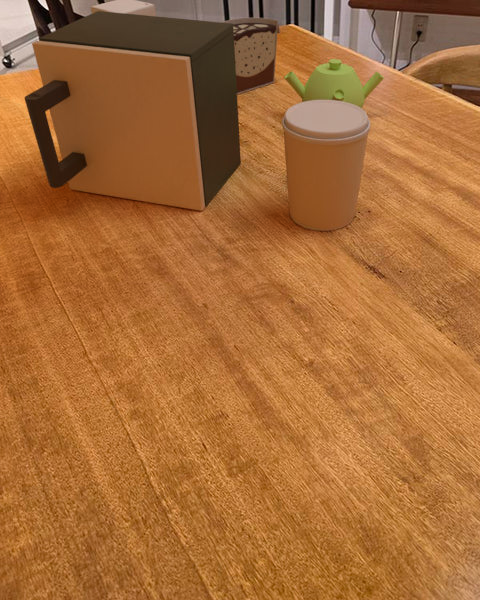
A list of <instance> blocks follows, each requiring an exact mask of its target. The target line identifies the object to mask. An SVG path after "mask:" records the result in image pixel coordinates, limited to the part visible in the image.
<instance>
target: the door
mask: <svg viewBox="0 0 480 600" xmlns="http://www.w3.org/2000/svg"><path fill="white" fill-rule="evenodd" d="M31 45H32V46H31V47H32V49H33V54H34V56H35V57H34V58H35V60H36V64H37V68H38V73H39V76H40V80H41V83H42V86H40V87H39V88H38V89H36V90H34V91H32V92H30V93H29V94H27V95H26V96H24V103H25V105H26V108H27V112H28V116H29V119H30V123H31V126H32V129H33V134H34V137H35V141H36V144H37V147H38V150H39V154H40V157H41V160H42V164H43V168H44V172H45V175H46V179H47V183H48V186H49V187H50V188H51V189H58V188H61V187H63V186H65V185H66V184H67V183H68V187H69V189H70V190H72V191H73V190H74V191H79V192H85V193H91V194H98V195H102V196H109V197H113V198H114V197H115V198H121V199H127V200H133V201H139V202H145V203H151V204H157V205H164V206H170V207H176V208H182V209H189V210H193V211H194V210H195V211H200V212H202V211H203V210H204V209H205V208H206V207H205V201H204V191H203V181H202V172H201V162H200V152H199V142H198V132H197V122H196V113H195V103H194V93H193V83H192V73H191V64H190V57H185V56H176V55H167V54H157V53H148V52H139V51H129V50H120V49H111V48H102V47H92V46H83V45H74V44H65V43H55V42H46V41H39V40H36V41H33V42H32V43H31ZM47 111H49V115H50V118H51V121H52V125H53V129H54V133H55V136H56V141H57V144H58V148H59V152H60V156H61V160H60V161H59V158H58V154H57V151H56V146H55V143H54V139H53V136H52V131H51V128H50V125H49V120H48V118H47V113H46V112H47Z"/></svg>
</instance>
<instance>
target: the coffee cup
mask: <svg viewBox="0 0 480 600" xmlns="http://www.w3.org/2000/svg"><path fill="white" fill-rule="evenodd" d="M281 126H282V127H281V128H282V130H283V140H284V157H285V172H286V185H287V197H288V209H289V215H290V218H291V219H292V221H293V222H294V223H295V224H296V225H298V226H300V227H302V228H305V229H308V230H311V231H316V232H317V231H319V232H330V231H337V230H340V229H342V228H345V227H347V226H349V225H350V224H351V223H352V221H353V220H354V219H355V216H356V210H357V206H358V199H359V193H360V187H361V181H362V174H363V168H364V164H365V163H364V162H365V156H366V150H367V144H368V135H369V133H370V130H371V120H370V119H369V114H368V113H367V112H366V111H365V110H364V109H363V107H362V108H360V107H358V106H356V105H354V104H351V103H347V102H343V101H336V100H311V101H305V102H302V101H301V102H297V103H295V104H293V105H292V106H290V107H289V108H287V110H286V111H285V113H284V116H283V117H282V120H281Z"/></svg>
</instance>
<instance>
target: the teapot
mask: <svg viewBox="0 0 480 600" xmlns="http://www.w3.org/2000/svg"><path fill="white" fill-rule="evenodd" d="M284 79H285V81H286V82H287V83H288V84H289V85H290V86H291V88H292V89H293V90H294V91H295V93H296V94H297V95H298V96H299V97H300V98H301V102H305V101H311V100H336V101H343V102H347V103H351V104H354V105H356V106H358V107H360V108H362V109H363V107H364V106H365V100H366V99H367V98H368V97H369V96H370V95H371V94H372V93H373V91H374V90H375V89H376V88H377V87H378V86H379V85H380V84H381V83H382V81H384V79H385V77H384V76H383V75H382V74H380V72H379V71H375V73H373V75H372V76H371V77H370V78H369V80H367V82H366V83H365V84H364V85H363V84H362V81H361V79H360V78H359V76H358V74H357V72H356V69H354V67H353V66H351V65H350V64H347V63H343V61H342V60H341V59H338V58H332V59H331V58H330V59H329V60H328V62H325V63H322V64H321V63H320V64H319V65H317V66H316V67H315V68H314V69H313V71H312V73H311V74H310V75H309V77H308V79H307V81H306V83H305V85H304V84H303V83H302V81H301V80H300V79H299V78H298V77H297V75H296V73H295V72H294V71H293V70H291V71H289V72H288V73H287V74H286V75H285V76H284Z"/></svg>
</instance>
